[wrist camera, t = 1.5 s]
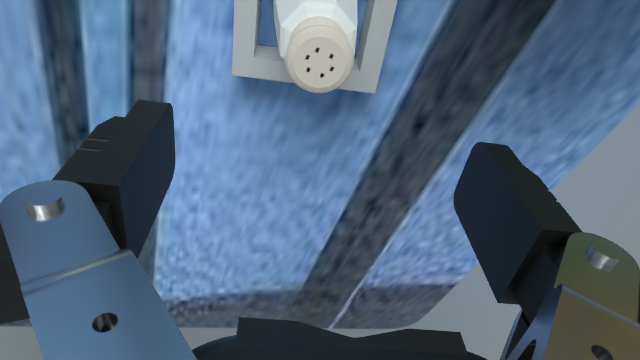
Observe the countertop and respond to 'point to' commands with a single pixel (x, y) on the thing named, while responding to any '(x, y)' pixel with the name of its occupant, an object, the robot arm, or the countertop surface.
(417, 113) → the countertop surface
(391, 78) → the countertop surface
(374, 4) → the square picture frame
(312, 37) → the pepper shaker
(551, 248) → the robot arm
